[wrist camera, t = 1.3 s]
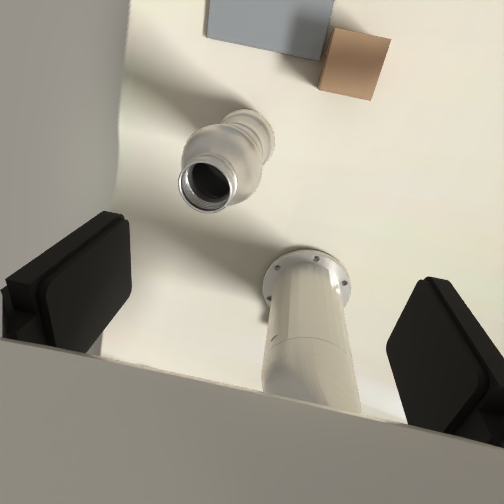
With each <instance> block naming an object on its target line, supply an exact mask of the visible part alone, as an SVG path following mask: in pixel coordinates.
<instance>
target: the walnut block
mask: <svg viewBox="0 0 504 504" xmlns="http://www.w3.org/2000/svg"><path fill="white" fill-rule="evenodd" d="M390 42H391V39H388V38H383V37H378V36H373V35H369V34H364V33H359V32H354V31H349V30H344V29H339V28H335V29H334V30H333V32H332V33H331V35H330V39H329V43H328V47H327V51H326V55H325V59H324V63H323V67H322V71H321V75H320V79H319V83H318V87H317V88H318V89H319V90H322V91H326V92H331V93H336V94H341V95H345V96H350V97H355V98H360V99H364V100H369V101H371V99H372V96H373V93H374V90H375V87H376V84H377V81H378V78H379V75H380V72H381V69H382V66H383V63H384V60H385V57H386V54H387V51H388V48H389V45H390Z"/></svg>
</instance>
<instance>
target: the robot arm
mask: <svg viewBox="0 0 504 504" xmlns="http://www.w3.org/2000/svg"><path fill="white" fill-rule="evenodd" d="M315 256H318V257H315ZM277 265H279V266H277ZM5 280H6V283H7V286H5V287H4V288H3V289H1V290H0V504H504V358H503V356H502V355H501V353H500V352H499V351H498V349H497V348H496V346H495V345H494V344H493V342H492V341H491V339H490V338H489V336H488V335H487V334H486V332H485V331H484V329H483V328H482V327H481V325H480V324H479V322H478V321H477V319H476V318H475V317H474V315H473V314H472V312H471V311H470V310H469V308H468V307H467V305H466V304H465V303H464V301H463V300H462V298H461V297H460V295H459V294H458V293H457V291H456V290H455V288H454V287H453V286H452V284H451V283H450V282H449V281H448V280H444V279H439V278H434V277H429V276H428V277H426V278H425V279H424V280H419V281H418V282H417V284H416V286H415V288H414V290H413V292H412V294H411V296H410V298H409V300H408V302H407V304H406V306H405V308H404V310H403V312H402V314H401V315H400V317H399V319H398V321H397V323H396V325H395V327H394V329H393V331H392V333H391V335H390V337H389V339H388V342H387V345H386V352H387V356H388V359H389V362H390V366H391V369H392V372H393V376H394V379H395V382H396V386H397V389H398V392H399V396H400V399H401V402H402V405H403V409H404V412H405V415H406V419H407V422H408V425H407V424H403V423H399V422H394V421H390V420H385V419H381V418H377V417H372V416H368V415H364V414H363V410H362V406H361V402H360V398H359V393H358V388H357V383H356V377H355V372H354V366H353V360H352V355H351V349H350V343H349V338H348V332H347V326H346V321H345V315H344V307H345V306H346V304H347V302H348V301H349V298H350V294H351V284H350V279H349V276H348V273H347V271H346V270H345V268H344V266H343V265H342V264H341V263H340V262H339V261H338V260H336V259H335V258H334V257H332V256H330V255H328V254H326V253H324V252H320V251H316V250H296V251H292V252H289V253H286V254H284V255H282V256H280V257H279V258H278V259H276V260H275V261H274V262H273V263H272V264H271V265H270V266H269V268H268V269H267V271H266V273H265V276H264V280H263V295H264V298H265V300H266V303H267V304H268V306H269V307H270V314H269V322H268V329H267V337H266V344H265V352H264V359H263V365H262V374H261V381H262V388H263V392H261V391H256V390H252V389H247V388H243V387H238V386H234V385H229V384H225V383H220V382H215V381H211V380H206V379H202V378H197V377H193V376H188V375H183V374H179V373H174V372H169V371H165V370H160V369H156V368H151V367H146V366H142V365H137V364H132V363H128V362H123V361H118V360H114V359H109V358H104V357H100V356H95V355H90V354H86V352H87V351H88V350H89V348H90V347H91V346H92V345H93V343H94V342H95V341H96V339H97V338H98V337H99V335H100V334H101V333H102V332H103V330H104V329H105V328H106V326H107V325H108V324H109V322H110V321H111V320H112V319H113V317H114V316H115V315H116V313H117V312H118V311H119V309H120V308H121V307H122V306H123V304H124V303H125V302H126V300H127V299H128V298H129V296H130V293H131V290H132V280H131V255H130V230H129V222H128V220H125V219H124V216H123V215H122V214H117V213H112V212H107V211H103V212H101V213H99V214H98V215H97V216H95V217H94V218H92V219H91V220H89V221H88V222H87V223H85V224H84V225H82V226H81V227H79V228H78V229H77V230H75V231H74V232H72V233H71V234H70V235H68V236H66V237H65V238H64V239H62V240H61V241H59V242H58V243H57V244H55V245H54V246H52V247H51V248H49V249H48V250H46V251H45V252H44V253H42V254H41V255H39V256H38V257H36V258H35V259H34V260H32V261H31V262H29V263H28V264H26V265H25V266H23V267H22V268H21V269H19V270H18V271H16V272H15V273H14V274H12V275H11V276H9V277H8V278H6V279H5ZM343 280H344V281H343Z"/></svg>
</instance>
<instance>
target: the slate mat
mask: <svg viewBox="0 0 504 504" xmlns="http://www.w3.org/2000/svg"><path fill="white" fill-rule="evenodd" d="M333 3H334V0H210V8H209V19H208V30H207V38H211V39H216V40H221V41H226V42H230V43H235V44H240V45H245V46H250V47H255V48H259V49H264V50H269V51H274V52H279V53H283V54H288V55H293V56H298V57H303V58H307V59H312V60H317V61H319V60H320V56H321V52H322V48H323V44H324V40H325V36H326V32H327V28H328V24H329V20H330V16H331V12H332V7H333Z"/></svg>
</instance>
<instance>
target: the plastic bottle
mask: <svg viewBox="0 0 504 504" xmlns="http://www.w3.org/2000/svg"><path fill="white" fill-rule="evenodd" d="M274 146H275V137H274V132H273V130H272V127H271V125H270V124H269V122H268V121H267V120H266V119H265V118H264V117H263V116H262V115H260V114H259V113H257V112H255V111H252V110H248V109H240V110H235V111H233V112H231V113H229V114H228V115H227V116H225V117H224V119H223V120H222V121H221V123H220V124H213V125H209V126H205V127H203V128H201V129H198V130H197V131H196V132H195V133H193V134H192V135H191V136H190V138H189V139H188V140H187V142H186V144H185V146H184V150H183V154H182V162H181V166H182V171H181V173H180V175H179V180H178V186H179V191H180V193H181V196H182V197H183V199H184V200H185V202H186V203H187V204H188V205H189V206H190V207H192V208H193V209H195V210H197V211H199V212H203V213H216V212H218V211H221V210H222V209H224V208H225V207H226V206H230V205H235V204H238V203H240V202H243V201H244V200H246V199H248V198H249V197H250V196H251V195H252V194H253V193H254V192H255V190H256V189H257V187H258V185H259V182H260V180H261V174H262V166H263V165H264V164H265V163H266V162H267V161H268V160H269V159H270V157H271V156H272V154H273V151H274Z"/></svg>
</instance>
